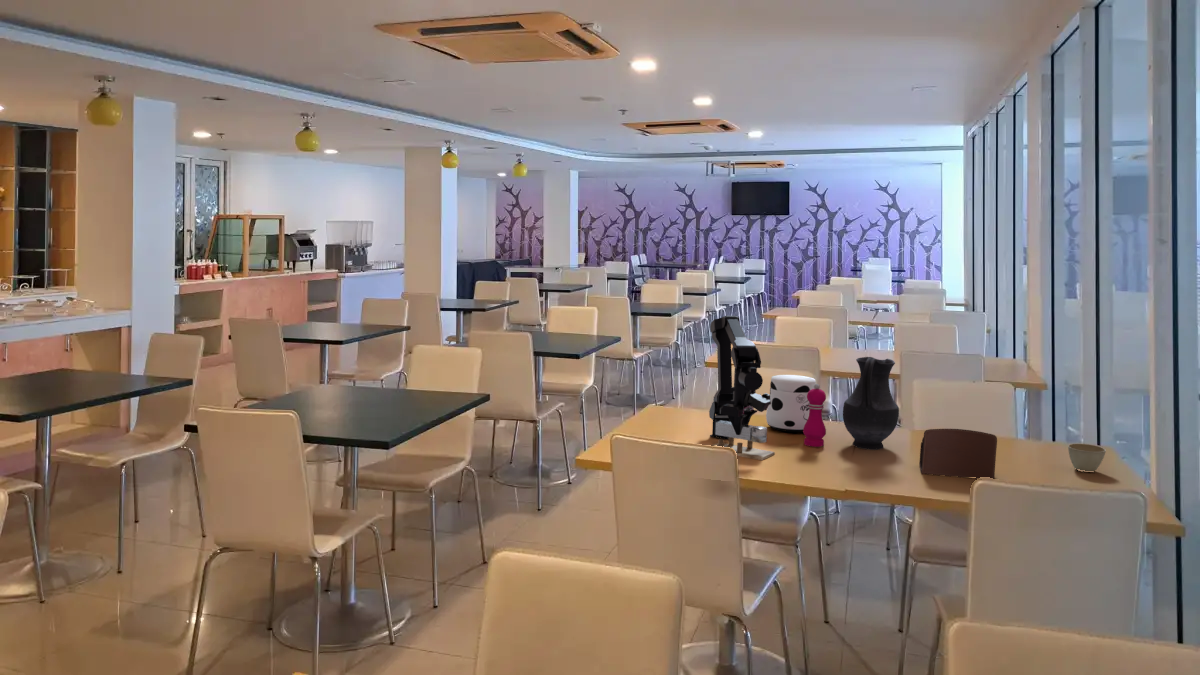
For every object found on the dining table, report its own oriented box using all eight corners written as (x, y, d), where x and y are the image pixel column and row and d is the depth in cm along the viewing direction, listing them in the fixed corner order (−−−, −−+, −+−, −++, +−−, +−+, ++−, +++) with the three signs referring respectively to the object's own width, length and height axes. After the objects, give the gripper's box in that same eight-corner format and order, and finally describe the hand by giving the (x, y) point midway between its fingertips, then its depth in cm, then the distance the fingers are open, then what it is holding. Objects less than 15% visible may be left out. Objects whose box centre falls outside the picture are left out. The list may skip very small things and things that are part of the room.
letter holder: (994, 481, 266) (998, 432, 264) (920, 474, 271) (924, 426, 269) (989, 472, 275) (993, 425, 273) (918, 465, 280) (922, 420, 278)
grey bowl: (1059, 466, 283) (1061, 443, 282) (1090, 466, 284) (1092, 443, 283) (1078, 475, 273) (1080, 451, 272) (1111, 475, 274) (1113, 451, 273)
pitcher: (899, 444, 307) (905, 353, 303) (890, 458, 288) (896, 362, 284) (846, 437, 314) (851, 349, 310) (833, 450, 295) (839, 357, 292)
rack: (706, 450, 292) (706, 438, 292) (719, 444, 300) (720, 433, 299) (761, 460, 282) (762, 447, 281) (774, 454, 289) (775, 442, 288)
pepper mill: (825, 448, 299) (829, 386, 296) (802, 446, 300) (805, 385, 298) (824, 442, 306) (828, 382, 303) (802, 441, 307) (805, 381, 305)
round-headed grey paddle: (714, 435, 293) (714, 422, 292) (721, 432, 297) (722, 420, 296) (762, 443, 283) (762, 430, 283) (769, 440, 287) (769, 427, 287)
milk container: (821, 435, 316) (824, 383, 314) (770, 434, 316) (772, 382, 314) (810, 424, 333) (813, 374, 331) (761, 423, 333) (764, 373, 331)
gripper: (753, 392, 276) (751, 443, 278) (779, 383, 291) (777, 432, 293) (720, 387, 282) (717, 437, 284) (747, 379, 297) (745, 427, 299)
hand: (740, 433), depth 290 cm, fingers closed on round-headed grey paddle, 3 cm apart
